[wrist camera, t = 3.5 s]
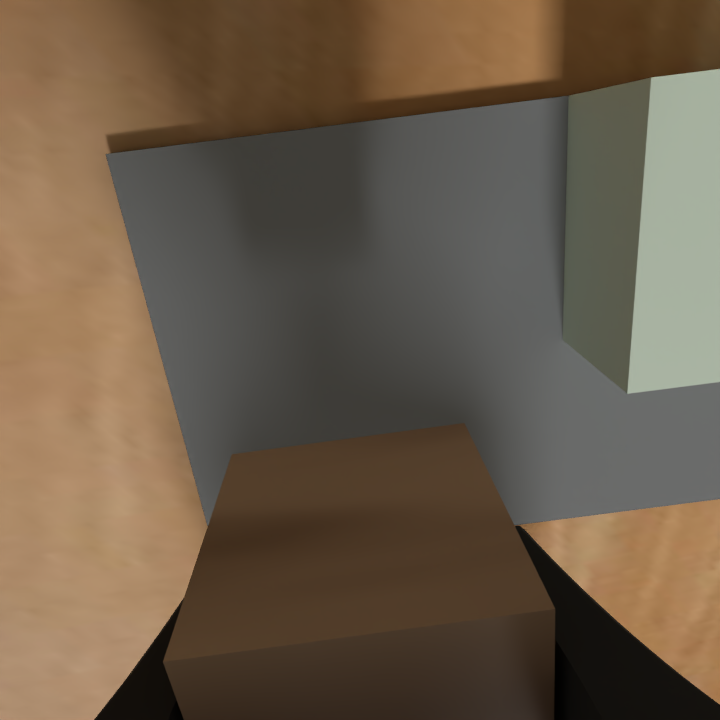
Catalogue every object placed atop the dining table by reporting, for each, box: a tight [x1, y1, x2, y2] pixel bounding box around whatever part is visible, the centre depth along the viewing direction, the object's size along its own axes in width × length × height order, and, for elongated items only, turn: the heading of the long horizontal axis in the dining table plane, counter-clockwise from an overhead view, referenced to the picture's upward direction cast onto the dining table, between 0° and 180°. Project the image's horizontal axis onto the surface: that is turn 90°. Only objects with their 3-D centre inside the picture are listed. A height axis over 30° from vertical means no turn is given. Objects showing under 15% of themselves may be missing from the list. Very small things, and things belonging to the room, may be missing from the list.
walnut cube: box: [163, 423, 555, 720], centre depth 9 cm, size 4×4×4 cm
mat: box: [106, 96, 720, 526], centre depth 17 cm, size 14×22×1 cm, turn 97°
